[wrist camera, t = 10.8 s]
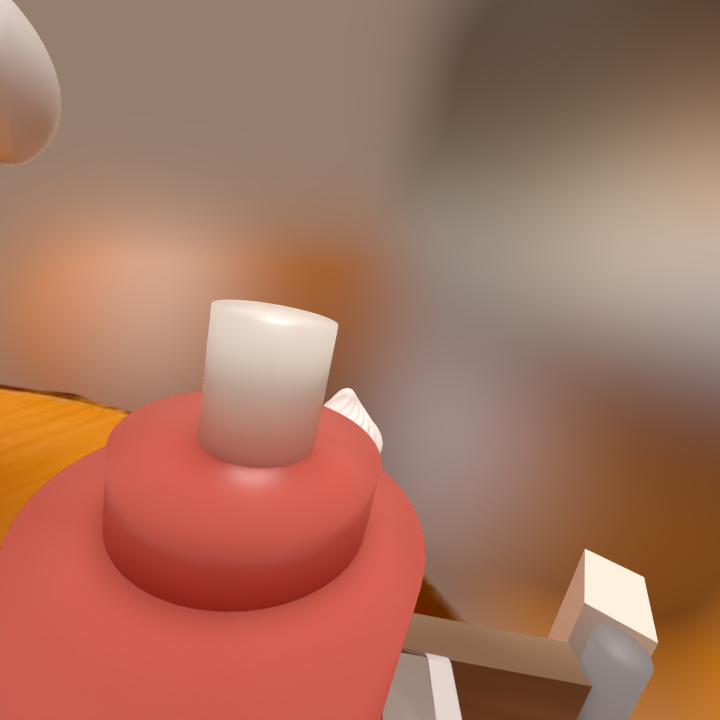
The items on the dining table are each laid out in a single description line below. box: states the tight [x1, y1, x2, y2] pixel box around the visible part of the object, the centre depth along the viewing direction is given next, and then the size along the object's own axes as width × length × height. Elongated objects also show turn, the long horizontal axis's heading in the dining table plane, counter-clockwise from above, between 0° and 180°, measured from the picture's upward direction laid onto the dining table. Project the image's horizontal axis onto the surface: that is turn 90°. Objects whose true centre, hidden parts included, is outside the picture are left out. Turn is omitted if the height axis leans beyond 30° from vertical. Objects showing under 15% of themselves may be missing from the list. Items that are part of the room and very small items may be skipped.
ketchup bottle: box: [0, 300, 425, 720], centre depth 7 cm, size 6×6×15 cm
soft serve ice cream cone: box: [324, 388, 383, 453], centre depth 36 cm, size 8×8×16 cm
